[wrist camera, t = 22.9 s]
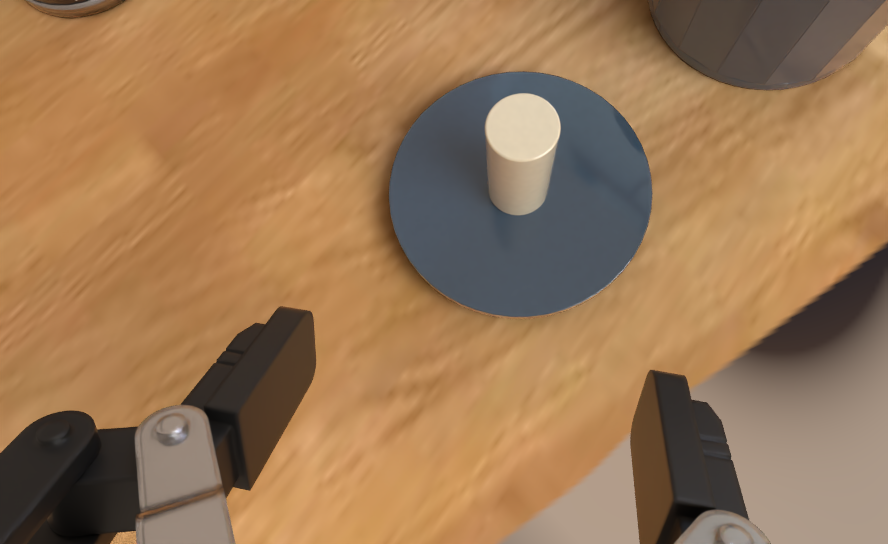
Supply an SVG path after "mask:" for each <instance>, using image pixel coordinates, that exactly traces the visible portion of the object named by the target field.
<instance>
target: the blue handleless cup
mask: <svg viewBox="0 0 888 544" xmlns="http://www.w3.org/2000/svg"><path fill="white" fill-rule="evenodd" d="M648 1H649V6H650V11H651V15H652V17H653V20H654V22H655V25H656V27H657V29H658V31H659V32H660V34H661V36H662V38H663V39H664V40H665V42H666V43H667V44H668V45H669V47H670V48H671V49H672V50H673V51H674V52H675V53H676V54H677V55H678V56H679V57H680V58H681V59H682V60H683V61H685V62H686V63H687V64H689V65H690V66H691V67H693V68H694V69H696V70H698V71H699V72H701V73H703V74H705V75H706V76H709V77H711V78H713V79H716V80H718V81H720V82H724V83H727V84H730V85H733V86H738V87H743V88H748V89H759V90H781V89H788V88H795V87H799V86H803V85H807V84H810V83H813V82H816V81H818V80H821V79H823V78H825V77H827V76H829V75H831V74H833V73H834V72H836V71H838V70H840V69H841V68H842V67H843V66H845V65H846V64H847V63H849V62H851V61H853V60H854V59H855V58H856V57H857V56H858V55H859V54H860V53H861V52H862V51H863V50H864V49H865V48H866V47H867V46H868V45H869V44H870V43H871V42H872V41H873V40H874V39H875V38H876V36H877V35H878V34H879V33H880V32H881V31H882V30H883V29H884V28H885V27H886V26H887V25H888V0H648Z"/></svg>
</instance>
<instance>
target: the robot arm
mask: <svg viewBox="0 0 888 544" xmlns="http://www.w3.org/2000/svg"><path fill="white" fill-rule="evenodd" d="M25 1H27V2H28V3H29V4H30V5H31V6H33V7H34V8H36V9H38V10H40V11H42V12H44V13H47V14H50V15H54V16H58V17H83V16H89V15H93V14H97V13H100V12H103V11H105V10H108V9H110V8H112V7H114V6H116V5H118V4H120V3H121V2H123V1H125V0H25ZM315 368H316V351H315V335H314V320H313V314H312V312H311V311H307V310H301V309H295V308H289V307H283V306H281V307H279V308H278V309H277V310H276V311H275V312H274V314H273V315H272V316H271V318H270V319H269V320H268V322H267V323H266V324H260V323H255V324H253V325H252V326H250V327H248V328H247V329H245V330H244V331H242V332H240V333H239V334H237V336H236V337H235V338H234V339H233V341H232V342H231V343H230V344H229V345H228V347H227V348H226V351H224V352H223V353H222V354H221V355H220V357H219V358H218V359H217V362H216V363H214V364H213V365H212V366H211V368H210V369H209V370H208V371H207V373H206V374H205V375H204V376H203V378H202V379H201V380H200V381H199V382H198V384H197V385H196V386H195V387H194V389H193V390H192V391H191V392H190V394H189V395H188V396H187V397H186V398H185V400H184V401H183V402H182V403H181V405H175V406H170V407H166V408H163V409H161V410H158V411H156V412H155V413H153V414H151V415H150V416H148V417H147V418H146V419H145V420H144V421H143V422H142V423H141V424H140V425H139V426H138V427H128V428H114V429H99V430H97V429H96V426H95V423H94V420H93V419H92V417H91V416H89V415H88V414H86V413H84V412H80V411H62V412H57V413H53V414H50V415H47V416H45V417H43V418H40V419H38V420H37V421H35V422H33V423H32V424H30V425H29V426H28V427H26V428H25V429H24V430H23V431H22V432H21V433H20V434H19V435H18V436H17V437H16V438H15V439H14V440H13V441H12V442H11V443H10V444H9V445H8V446H7V447H6V448H5V449H4V450H3V451H2V452H1V453H0V544H110V543H111V541H112V540H113V538H114V537H115V535H116V534H117V532H128V531H136V538H137V544H235V540H234V535H233V530H232V526H231V521H230V516H229V512H228V507H227V502H226V497H227V496H228V494H229V493H230V491H231V489H232V488H233V487H235V488H240V489H245V490H249V491H250V490H251V488H252V486H253V485H254V483H255V481H256V479H257V478H258V476H259V474H260V472H261V471H262V469H263V467H264V465H265V464H266V462H267V460H268V458H269V457H270V455H271V453H272V451H273V450H274V448H275V446H276V444H277V443H278V441H279V439H280V437H281V436H282V434H283V432H284V430H285V429H286V427H287V425H288V423H289V422H290V420H291V418H292V416H293V415H294V413H295V411H296V409H297V407H298V406H299V404H300V402H301V400H302V399H303V397H304V395H305V393H306V392H307V390H308V388H309V386H310V384H311V382H312V380H313V377H314V373H315ZM630 442H631V456H632V465H633V476H634V487H635V496H636V497H635V498H636V508H637V518H638V529H639V540H640V544H771V543H770V541H769V540H768V538H767V537H766V536H765V534H764V533H763V532H762V531H761V530H760V529H759V528H758V527H757V526H756V525H754V524H753V523H751V522H750V521H749V518H748V514H747V511H746V507H745V504H744V500H743V496H742V493H741V489H740V486H739V482H738V479H737V475H736V471H735V468H734V464H733V461H732V460H731V453H730V450H729V446H728V444H727V443H726V442H727V439H726V436H725V432H724V428H723V425H722V422H721V420H720V419H719V417H718V416H717V415H716V414H715V412H714V411H713V410H712V408H711V407H710V406H709V405H708V403H706V402H700V401H695V400H691V396H690V391H689V387H688V383H687V379H686V377H685V376H684V375H678V374H672V373H667V372H661V371H655V370H650V371H649V372H648V374H647V377H646V380H645V383H644V387H643V390H642V393H641V396H640V399H639V402H638V405H637V409H636V412H635V415H634V418H633V422H632V428H631V440H630Z"/></svg>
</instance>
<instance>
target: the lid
mask: <svg viewBox="0 0 888 544" xmlns="http://www.w3.org/2000/svg"><path fill="white" fill-rule="evenodd" d="M389 205H390V215H391V219H392V223H393V227H394V231H395V233H396V236H397V238H398V241H399V243H400V246H401V247H402V249H403V251H404V253H405V254H406V256H407V258H408V260H409V261H410V263H411V264H412V265H413V267H414V268H415V269H416V271H417V272H418V273H419V275H420V276H421V277H422V278H423V279H424V280H425V281H426V282H427V283H428V284H429V285H430V286H431V287H433V288H434V289H435V290H437V291H438V292H439V293H441V294H442V295H443V296H444V297H446V298H448V299H450V300H451V301H453V302H455V303H457V304H458V305H460V306H463V307H465V308H468V309H470V310H472V311H475V312H478V313H482V314H486V315H490V316H494V317H501V318H509V319H530V318H538V317H545V316H550V315H553V314H557V313H561V312H564V311H567V310H569V309H572V308H574V307H576V306H579V305H581V304H583V303H584V302H586V301H588V300H590V299H591V298H593V297H595V296H596V295H598V294H599V293H600V292H601V291H603V290H604V289H605V288H607V287H608V286H609V285H610V284H611V283H612V282H613V281H614V280H615V279H616V278H617V277H618V276H619V275H620V274H621V273H622V272H623V271H624V269H625V268H626V267H627V265H628V264H629V262H630V261H631V260H632V258H633V257H634V255H635V254H636V252H637V250H638V248H639V246H640V244H641V243H642V240H643V237H644V235H645V232H646V229H647V227H648V223H649V218H650V213H651V206H652V182H651V174H650V170H649V165H648V161H647V158H646V155H645V153H644V150H643V147H642V145H641V143H640V141H639V140H638V138H637V136H636V134H635V132H634V131H633V129H632V128H631V127H630V125H629V124H628V122H627V121H626V120H625V118H624V117H623V116H622V115H621V114H620V113H619V112H618V111H617V110H616V109H615V108H614V107H613V106H612V105H611V104H609V103H608V102H607V101H606V100H604V99H603V98H602V97H601V96H599V95H598V94H596V93H594V92H593V91H591V90H589V89H588V88H586V87H584V86H582V85H580V84H577V83H575V82H573V81H570V80H567V79H564V78H561V77H558V76H554V75H549V74H544V73H536V72H506V73H500V74H493V75H489V76H485V77H482V78H478V79H475V80H473V81H470V82H468V83H465V84H463V85H460V86H459V87H457V88H455V89H453V90H451V91H450V92H448V93H446V94H445V95H443V96H442V97H441V98H439V99H438V100H437V101H435V102H434V103H433V104H432V105H431V106H430V107H428V108H427V109H426V110H425V111H424V112H423V113H422V114H421V115H420V117H419V118H418V119H417V120H416V121H415V123H414V124H413V125H412V126H411V128H410V129H409V131H408V133H407V134H406V136H405V137H404V139H403V141H402V143H401V145H400V147H399V149H398V152H397V154H396V157H395V160H394V164H393V167H392V172H391V177H390V183H389Z"/></svg>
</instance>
